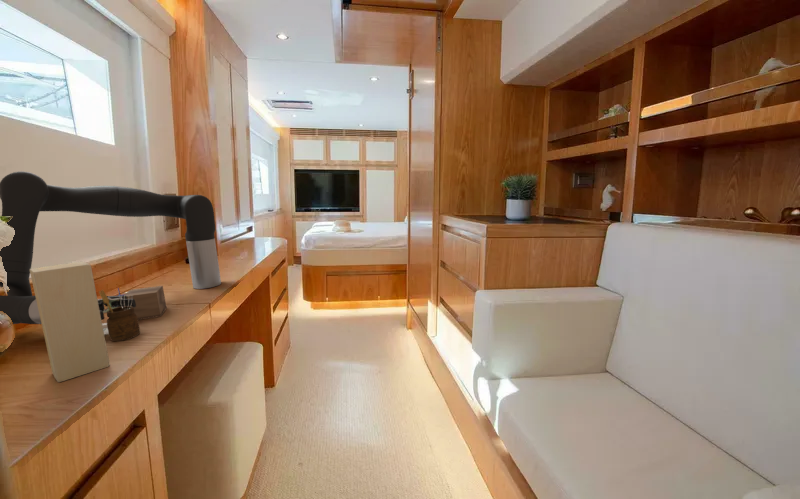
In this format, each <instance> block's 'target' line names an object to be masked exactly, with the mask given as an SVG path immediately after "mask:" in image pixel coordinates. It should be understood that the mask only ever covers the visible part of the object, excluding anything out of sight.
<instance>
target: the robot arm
mask: <svg viewBox="0 0 800 499" xmlns="http://www.w3.org/2000/svg"><path fill="white" fill-rule="evenodd" d="M0 200H1V217H2V216H13V218H12V219H11V220H10V221H9V222H7V224H8V225H10V226H12V227H13V228H14V230H15V235H14V237H13V240H12V241H11V244H10V245H9V246H6V247H3V248H2V249H1V251H0V256H1V257H2V262H3V266H4V269H5V271H6V272H7V286H8V287H9V289H10V290H9V292H6V294H7V295H0V311H3V312H4V313H6V314H7V315H8V316H9V317H10V318H11V320H12V322H13V324H12V325H17V324H27V325H42V323H41V319H40V315H39V310H38V306H37V301H36V297H35V295H33V292H32V287H31V283H30V277H31V274H30V269H32V265H33V264H32V263H33V256H34V244H35V243H34V242H35V234H36V233H35V232H36V226H37V222H38V217H39V215H40V214H39V213H40V212H70V213H71V212H73V213H81V214H92V215H101V216H116V217H128V218H129V217H130V218H138V217H139V218H140V217H141V218H145V217H168V218H169V217H171V218H176V219H177V218H178V219H181V220H182V219H183V220H185V223H186V231H185V235H184V236H185V243H186V249H187V251H186V252H187V257H188V262H189V269H190V275H191V282H192V288H193V289H195V290H197V289H198V290H201V289H210V288H213V287H217V286H221V284H222V279H221V272H220V264H219V260H218V259H219V257H218V252H217V251H218V250H217V245H216V237H215V233H216V232H215V231H216V222H215V213H214V212H215V210H214V205H213V203H212V201H211V200H210V199H209V198H208V197H207V196H204V195H203V194H202V195H201V194H188V195H175V194H173V195H170V194H169V195H168V194H160V193H156V192H152V191H148V190H145V189H139V188H133V187H126V186H117V185H93V186H92V185H90V186H81V187H76V186H75V187H69V186H68V187H67V186H59V185H53V184H47V182H46V181H45V180H44V179H43V178H42V177H40V176H39V175H37V174H36V173H33V172H30V171H22V170H21V171H13V172H10V173H8V174H7V175H5V176H4V177H3V178H1V180H0ZM2 287H3V283H2V282H0V288H2ZM106 296H107V298H108V299H109V305H110V307H111V309H114V308H117V307H121V306H133V308H134V307H136V303H135V300H134V299H127V296H125V299H124V295H123V296H117V295H106ZM97 300H98V305H99V311H100V316H101V321H103V320H105V313H106V314H107V311H109V310H110V309H109V307H108V305H107V304H106V303H104V301H103V299H102V298H97ZM124 302H125V305H124ZM128 302H129V305H128ZM131 303H132V305H131ZM121 304H122V305H121ZM105 307H107V309H105Z"/></svg>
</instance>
